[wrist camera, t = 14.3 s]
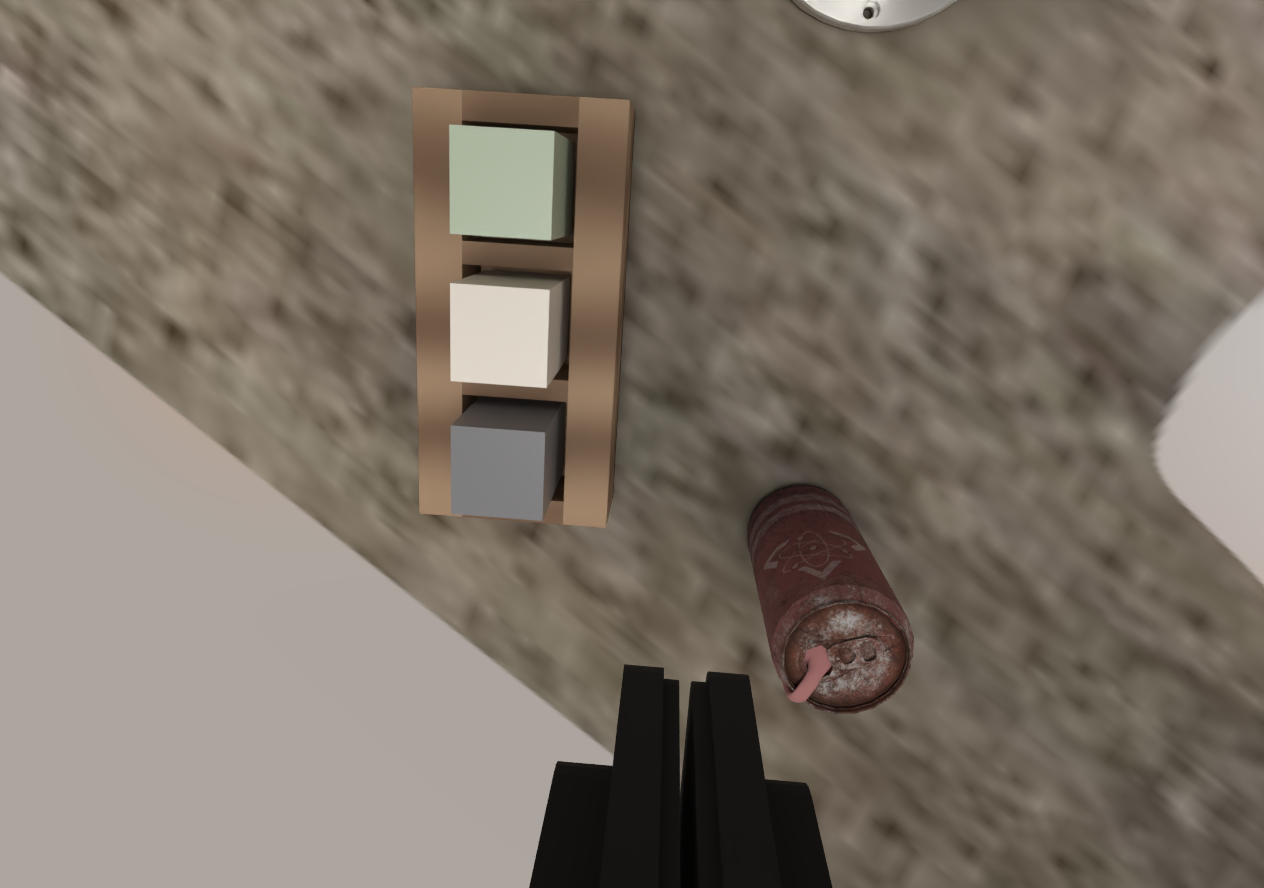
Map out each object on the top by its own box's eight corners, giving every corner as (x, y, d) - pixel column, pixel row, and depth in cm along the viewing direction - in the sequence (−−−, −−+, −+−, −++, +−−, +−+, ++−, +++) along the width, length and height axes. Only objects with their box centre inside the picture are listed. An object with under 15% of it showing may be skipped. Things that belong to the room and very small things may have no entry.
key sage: (487, 137, 40) (449, 124, 33) (575, 143, 40) (554, 130, 33) (486, 228, 41) (449, 233, 34) (571, 234, 41) (551, 240, 34)
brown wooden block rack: (442, 100, 41) (412, 86, 37) (635, 111, 41) (630, 99, 36) (445, 481, 47) (419, 513, 43) (613, 494, 47) (605, 527, 42)
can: (723, 545, 48) (742, 679, 34) (788, 462, 46) (834, 569, 33) (805, 599, 48) (854, 750, 35) (872, 519, 47) (950, 646, 33)
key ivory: (486, 270, 42) (450, 283, 35) (569, 275, 42) (549, 290, 35) (485, 353, 43) (450, 381, 36) (566, 359, 43) (546, 387, 36)
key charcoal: (485, 391, 44) (450, 425, 37) (565, 397, 44) (545, 432, 37) (484, 467, 45) (451, 513, 38) (562, 473, 45) (542, 520, 38)
